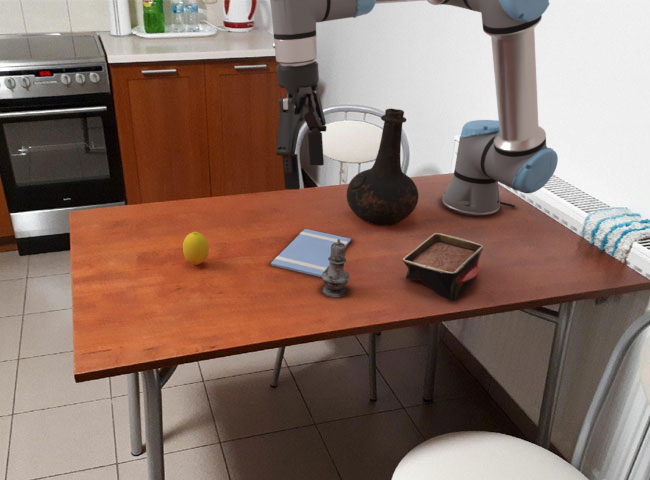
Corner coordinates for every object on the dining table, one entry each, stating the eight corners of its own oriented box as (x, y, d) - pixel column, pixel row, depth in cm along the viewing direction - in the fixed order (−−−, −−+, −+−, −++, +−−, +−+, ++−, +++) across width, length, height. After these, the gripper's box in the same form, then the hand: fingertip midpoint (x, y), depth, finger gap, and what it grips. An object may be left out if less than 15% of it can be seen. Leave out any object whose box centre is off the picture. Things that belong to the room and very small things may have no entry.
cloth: (270, 265, 141) (270, 262, 141) (304, 230, 157) (305, 228, 156) (321, 277, 137) (321, 274, 137) (351, 240, 153) (351, 238, 153)
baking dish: (390, 289, 138) (395, 252, 131) (433, 251, 148) (440, 215, 141) (449, 318, 131) (457, 281, 124) (490, 277, 141) (499, 240, 134)
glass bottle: (336, 207, 170) (345, 100, 155) (398, 203, 174) (413, 98, 159) (357, 236, 155) (369, 121, 141) (425, 231, 159) (444, 119, 144)
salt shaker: (346, 299, 130) (351, 247, 123) (318, 296, 131) (321, 243, 124) (350, 285, 135) (355, 234, 128) (322, 282, 135) (326, 230, 129)
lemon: (198, 256, 143) (197, 224, 139) (214, 265, 140) (213, 232, 136) (178, 264, 140) (176, 231, 136) (194, 273, 137) (192, 239, 132)
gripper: (301, 49, 125) (309, 155, 136) (248, 77, 105) (262, 198, 116) (338, 48, 122) (342, 156, 133) (290, 77, 103) (300, 200, 113)
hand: (305, 176), depth 124 cm, fingers open, 13 cm apart
